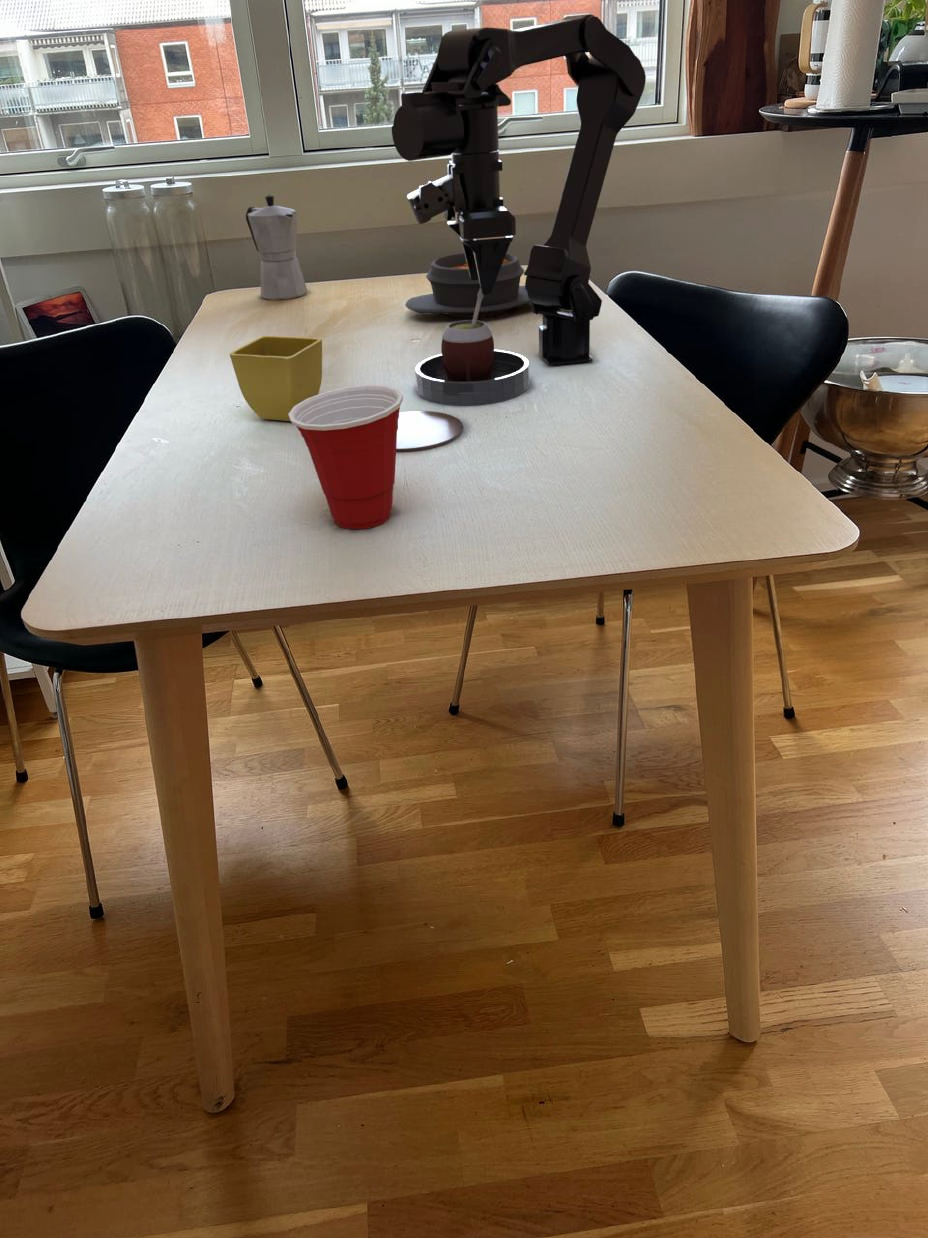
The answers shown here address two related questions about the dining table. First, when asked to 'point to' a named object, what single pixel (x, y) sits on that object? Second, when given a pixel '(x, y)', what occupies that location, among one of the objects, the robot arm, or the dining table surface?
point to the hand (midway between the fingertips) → (480, 286)
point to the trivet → (426, 430)
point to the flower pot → (278, 373)
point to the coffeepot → (277, 250)
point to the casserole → (469, 289)
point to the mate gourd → (468, 349)
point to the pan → (502, 386)
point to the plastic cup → (353, 450)
